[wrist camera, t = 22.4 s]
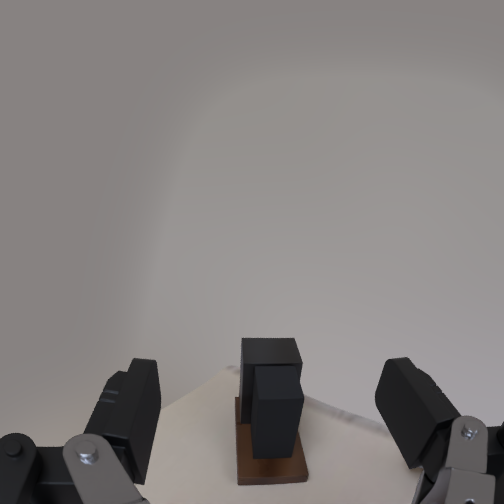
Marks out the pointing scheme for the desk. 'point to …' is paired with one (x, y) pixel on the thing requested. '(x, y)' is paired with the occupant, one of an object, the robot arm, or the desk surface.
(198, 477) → the desk surface
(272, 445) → the black rectangular block
